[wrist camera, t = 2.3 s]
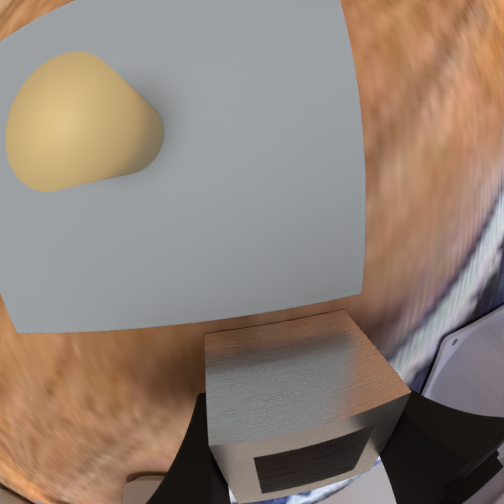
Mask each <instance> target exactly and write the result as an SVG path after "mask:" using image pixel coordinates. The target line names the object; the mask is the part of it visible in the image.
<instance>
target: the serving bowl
mask: <svg viewBox="0 0 504 504" xmlns="http://www.w3.org/2000/svg"><path fill="white" fill-rule="evenodd" d="M0 504H32V503H30V502H28V501H27V500H25V499H23V498H22V497H20V496H18V495H16V494H15V493H13V492H11V491H9V490H4V489H2V488H0Z"/></svg>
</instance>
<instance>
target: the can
mask: <svg viewBox="0 0 504 504" xmlns="http://www.w3.org/2000/svg"><path fill="white" fill-rule="evenodd" d="M164 477H165V476H155V475H150V476H141V477H139V478H136V479H135V480H134V481H132V482H129V483H127V484H125V486H124V489H123V499H122V504H146V502H147V501H148V500H149V499H150V497H151V496H152V495H153V494H154V492H155V491H156V489H157V488H158V486H159V485H160V483H161V482H162V480H163V479H164Z"/></svg>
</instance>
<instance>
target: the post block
mask: <svg viewBox="0 0 504 504" xmlns="http://www.w3.org/2000/svg"><path fill="white" fill-rule="evenodd" d="M365 234H366V178H365V155H364V140H363V128H362V117H361V108H360V100H359V92H358V85H357V78H356V72H355V66H354V60H353V55H352V50H351V45H350V40H349V35H348V31H347V26H346V22H345V18H344V14H343V10H342V6H341V3H340V0H75V1H72V2H70V3H68V4H66V5H63V6H61V7H59V8H57V9H55V10H53V11H51V12H49V13H47V14H45V15H43V16H41V17H39V18H37V19H36V20H34V21H32V22H30V23H29V24H27V25H25V26H24V27H22V28H20V29H19V30H17V31H15V32H14V33H12V34H11V35H9V36H8V37H6V38H5V39H3V40H2V41H0V293H1V296H2V299H3V301H4V304H5V306H6V309H7V311H8V313H9V316H10V318H11V320H12V323H13V325H14V327H15V329H16V331H17V333H67V332H92V331H109V330H124V329H137V328H148V327H159V326H169V325H178V324H187V323H195V322H203V321H211V320H219V319H226V318H233V317H240V316H246V315H253V314H259V313H265V312H271V311H277V310H283V309H288V308H294V307H299V306H305V305H310V304H315V303H320V302H325V301H330V300H335V299H339V298H344V297H349V296H353V295H358V294H362V285H363V273H364V257H365Z"/></svg>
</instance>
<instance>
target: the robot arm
mask: <svg viewBox="0 0 504 504" xmlns="http://www.w3.org/2000/svg"><path fill="white" fill-rule="evenodd" d="M409 389H410V388H409ZM410 390H411V389H410ZM379 456H380V458H381V460H382V463H383V465H384V467H385V470H386V473H387V475H388V478H389V481H390V483H391V486H392V490H393V492H394V496H395V499H396V503H397V504H504V305H502V306H501V307H499V308H498V309H496V310H494V311H493V312H491V313H489V314H488V315H486V316H484V317H482V318H481V319H479V320H477V321H475V322H473V323H472V324H470V325H468V326H466V327H464V328H462V329H460V330H458V331H456V332H454V333H452V334H450V335H448V336H447V337H446V338H445V339H444V340H443V341H442V344H441V346H440V349H439V352H438V355H437V358H436V360H435V363H434V365H433V368H432V370H431V373H430V375H429V378H428V380H427V382H426V385H425V387H424V389H423V392H422V394H419V393H417V392H415V391H413V390H411V394H410V396H409V399H408V401H407V403H406V405H405V408H404V410H403V412H402V414H401V416H400V418H399V420H398V422H397V424H396V426H395V428H394V430H393V432H392V434H391V436H390V438H389V439H388V441H387V443H386V445H385V447H384V448H383V450H382V452H381V453H380V455H379ZM146 504H231V502H230V496H229V488H228V484H227V482H226V480H225V478H224V476H223V474H222V472H221V470H220V468H219V466H218V464H217V462H216V460H215V458H214V456H213V454H212V451H211V449H210V447H209V440H208V424H207V404H206V393H199V394H198V395H197V399H196V404H195V408H194V411H193V415H192V418H191V421H190V424H189V427H188V429H187V432H186V435H185V437H184V440H183V442H182V444H181V446H180V449H179V451H178V453H177V455H176V457H175V459H174V461H173V463H172V465H171V467H170V469H169V470H168V472H167V474H166V476H165V477H164V479H163V480H162V482H161V483H160V485H159V486H158V488H157V489H156V491H155V492H154V494H153V495H152V496H151V497H150V499H149V500H148V501H147V502H146Z"/></svg>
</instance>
